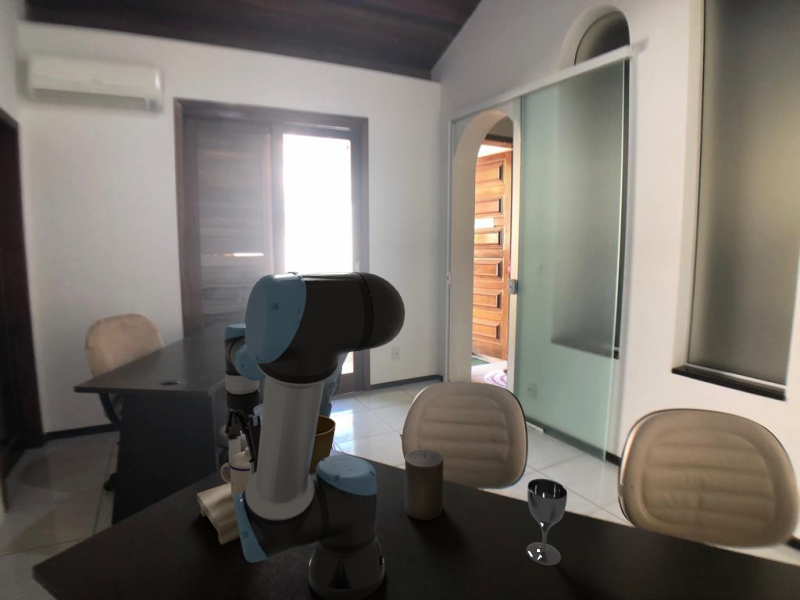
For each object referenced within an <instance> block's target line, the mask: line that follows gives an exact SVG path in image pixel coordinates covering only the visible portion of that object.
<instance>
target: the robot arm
mask: <svg viewBox="0 0 800 600" xmlns="http://www.w3.org/2000/svg"><path fill="white" fill-rule="evenodd" d="M244 318H245V319H244V323H235V324H229V325H227V326H226V327H225V328H224V339H223V342H224V359H225V362H224V363H225V372H224V373H225V378H224V379H225V390H227V391H226V393H225V394H226V395H225V396H226V397H225V398H226V399H225V400H226V401H225V402H226V407H227V408H228V409H227V411H228V412H227V416H226V423H225V427H224V433H225V435H227V436H226V437H227V439H229V440H228V463H229V462H230V460H231V458H232V457H233V456H234V455H236V454H238V453H240V452H242V449H241V447H242V446H241V442H242V441H241V436H242V435H244V436H245V441H246V444H247V447H248V448H249V452H250V455H251V459H250V460H249V463H250V479H249V481H248V483H247V486H246V491H241V492H240V493H237V494H236V495H235V496H234V498H233V501H234V508H235V514H236V520H237V525H238V530H239V535H240V537H239V538H240V539H239V540H240V544H241V548H242V552H243V556H244V559H245V560H246V561H247V562H249V563H251V564H253V563H254V564H255V563H257V562H261V561H264V560H268V561H269V560H271V559H272V558H275V557H277V556H280V555H283V554H287V553H288V552H291V551H295V550H297V549H300V548H302V547H305V546H308V545H311V544H314V543H315V546H314V549H313V552H312V555H311V558H310V560H309V563H308V583H309V586H310V588H311V589H312V591H313V592H314V593H315V594H316V595H317V596H319V597H320V598H322V599H324V600H364V599H365V598H367V597H369V596H370V595H372V594H373V593H374V592H375V591H377V589H379V587H380V586H381V584H382V583H383V581H384V578H385V570H386V569H385V568H386V567H385V556H384V554H383V550H382V548H381V545H380V541H379V539H378V535H377V512H378V511H377V510H378V509H377V501H378V500H377V497H378V496H377V495H378V494H377V493H378V490H379V489H378V482H377V481H378V480H377V473H376V470H375V467H374V466H373V465H372V464H371V463H369V462H368V461H366V460H365V459H363V458H360V457H357V456H353V455H347V454H345V455H344V454H342V455H341V454H337V455H331V456H330V455H329V457H326V458H324V459H322V461H320V462H319V463H318V465H317V467H316V473H313V474H309V469H310V463H311V457H312V451H313V445H314V439H315V433H316V428H317V422H318V416H319V414H320V409H321V404H322V398H323V392H324V386H325V382H326V381H327V380H329V379H330V378H331V377H332V376H333V375H334V374H336V371H337V368H338V365H339V360H340V357H341V356H343V355H345V354H349V353H353V352H361V351H367V350H373V349H376V348H379V347H382V346H385V345H388V344H389V343H390V342H392V341H394V340H395V338H397V336H398V335H399V333H401V331H402V328H404V327H403V326H404V323H405V319H406V310H405V304H404V301H403V298H402V296H401V294H400V293H399V291H398V289H397V288H396V287H395V286H394V285H393V284H392V283H390V282H389V281H388V280H386V279H385V278H384V277H382V276H379V275H377V274H374V273H369V272H365V271H364V272H363V271H360V272H359V271H353V272H298V271H288V272H286V273H276V274H275V273H274V274H273V273H272V274H271V273H270V274H267V275H264V276H262V277H260V278H259V280H258V281H256V282H255V284H254V285H253V287H252V289H251V290H250V294H249V296H248V300H247V304H246V310H245V316H244ZM262 380H264V381H265V382H264V392H263V402H262V412H261V415H260V414H259V415H256V414H255V412H254V409H255V408H256V407H258V405H260V403H261V389H260V381H262Z"/></svg>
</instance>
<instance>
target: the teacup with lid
mask: <svg viewBox="0 0 800 600" xmlns="http://www.w3.org/2000/svg"><path fill="white" fill-rule="evenodd" d="M250 459H251V455H250V452H249V448H248V446H246V447H245V448H244V450H243V451H241V452H240V453H238V454H236V455H234V456H233V457H232V458H231V460H230V462H229V461H228V462H225V463H224V464H223V465H222V466H221V467H220V475H221V478H222V479H223V480H224V482H226V483H231V497H232V499H233V498H234V496H235V495H236V494H237V493H240V492H241V491H246V486H247V483H248V481H249V479H250V463H249V460H250ZM226 467H227V468H230V477H229V476H228V475H227V473H226Z"/></svg>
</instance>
